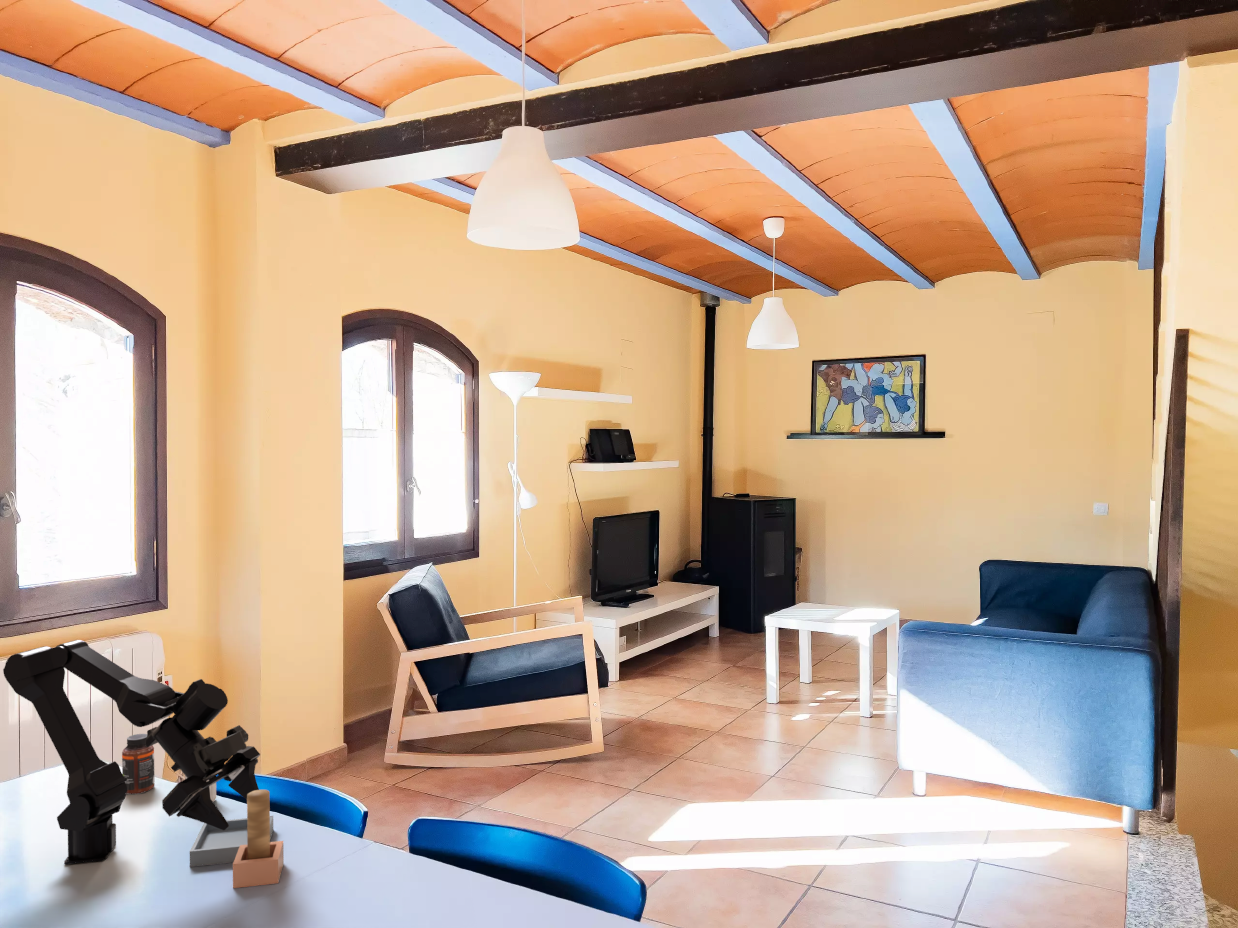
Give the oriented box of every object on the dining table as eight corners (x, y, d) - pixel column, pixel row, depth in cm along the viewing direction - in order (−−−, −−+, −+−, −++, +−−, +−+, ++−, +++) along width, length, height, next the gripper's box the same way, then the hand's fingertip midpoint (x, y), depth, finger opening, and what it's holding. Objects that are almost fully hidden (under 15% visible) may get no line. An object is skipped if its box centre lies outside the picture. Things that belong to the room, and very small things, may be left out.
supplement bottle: (160, 784, 188) (160, 732, 187) (143, 795, 182) (142, 741, 182) (134, 783, 188) (133, 731, 188) (116, 794, 182) (115, 740, 182)
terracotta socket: (232, 888, 145) (232, 864, 144) (240, 867, 151) (240, 844, 151) (278, 882, 146) (278, 859, 146) (283, 863, 153) (283, 840, 153)
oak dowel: (246, 881, 147) (245, 798, 146) (249, 871, 150) (248, 790, 150) (268, 879, 148) (267, 796, 147) (271, 869, 151) (270, 788, 151)
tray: (189, 866, 152) (189, 851, 152) (204, 836, 163) (204, 822, 163) (264, 858, 155) (264, 843, 155) (273, 829, 166) (273, 815, 166)
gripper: (176, 734, 141) (238, 808, 139) (250, 700, 159) (305, 765, 157) (135, 779, 143) (195, 853, 141) (212, 740, 161) (267, 805, 159)
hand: (244, 816), depth 149 cm, fingers open, 9 cm apart
